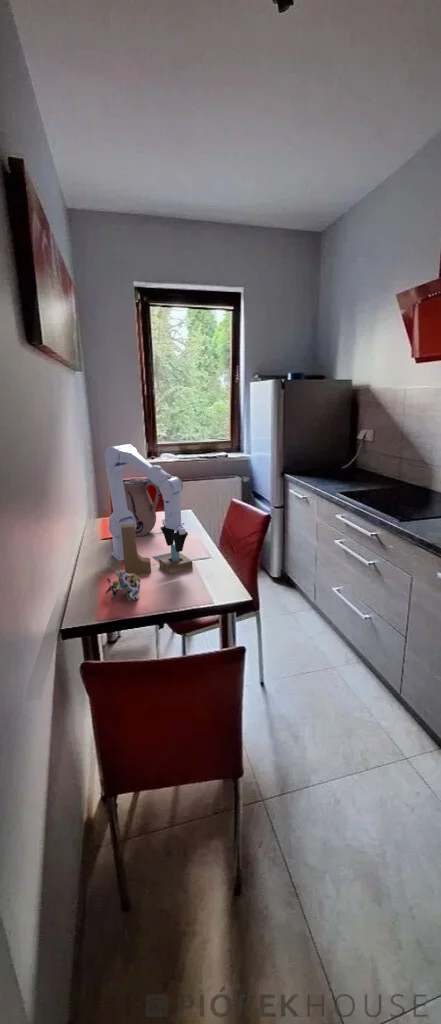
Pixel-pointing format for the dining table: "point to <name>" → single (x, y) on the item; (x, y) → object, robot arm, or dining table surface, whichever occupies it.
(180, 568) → the hole block
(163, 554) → the mat
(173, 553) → the peg
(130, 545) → the wooden block
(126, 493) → the ceramic pitcher
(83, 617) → the dining table surface
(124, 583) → the passion flower
